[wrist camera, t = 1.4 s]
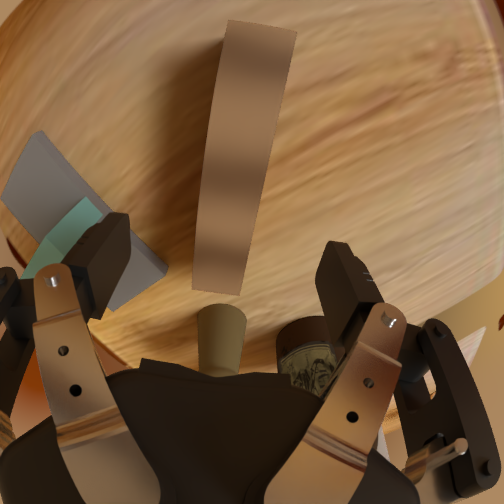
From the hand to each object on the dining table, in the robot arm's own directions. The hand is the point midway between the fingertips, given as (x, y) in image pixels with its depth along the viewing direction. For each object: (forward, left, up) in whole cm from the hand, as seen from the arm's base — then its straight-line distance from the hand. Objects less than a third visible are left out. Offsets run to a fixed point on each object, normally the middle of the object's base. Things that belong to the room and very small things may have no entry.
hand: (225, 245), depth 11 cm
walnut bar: (0, 0, -14) cm, 14 cm away
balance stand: (+9, -16, -14) cm, 23 cm away
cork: (+20, +1, -14) cm, 24 cm away
